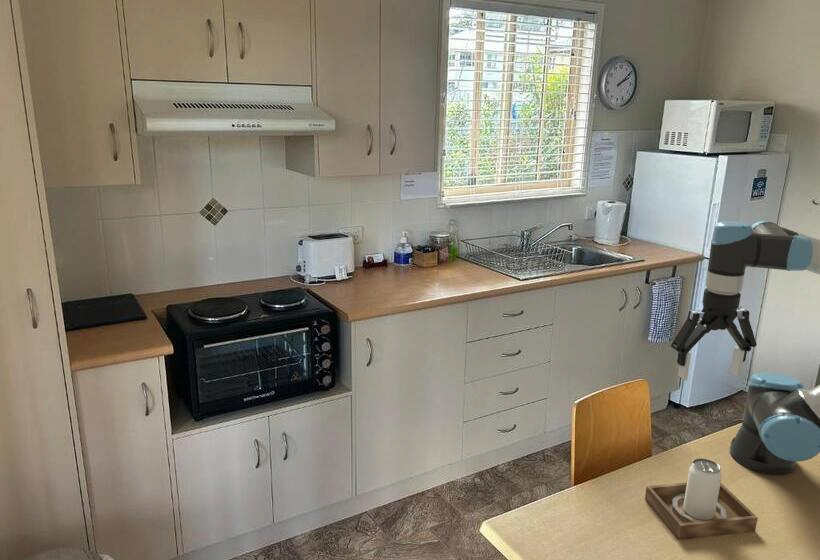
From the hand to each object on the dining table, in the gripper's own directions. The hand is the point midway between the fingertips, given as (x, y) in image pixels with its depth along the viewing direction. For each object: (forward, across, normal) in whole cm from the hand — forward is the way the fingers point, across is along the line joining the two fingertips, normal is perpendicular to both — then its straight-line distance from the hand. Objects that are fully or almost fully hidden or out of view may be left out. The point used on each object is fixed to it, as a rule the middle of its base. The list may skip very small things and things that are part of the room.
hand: (708, 376), depth 150 cm
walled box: (+27, +8, +14) cm, 31 cm away
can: (+26, +8, +14) cm, 31 cm away
